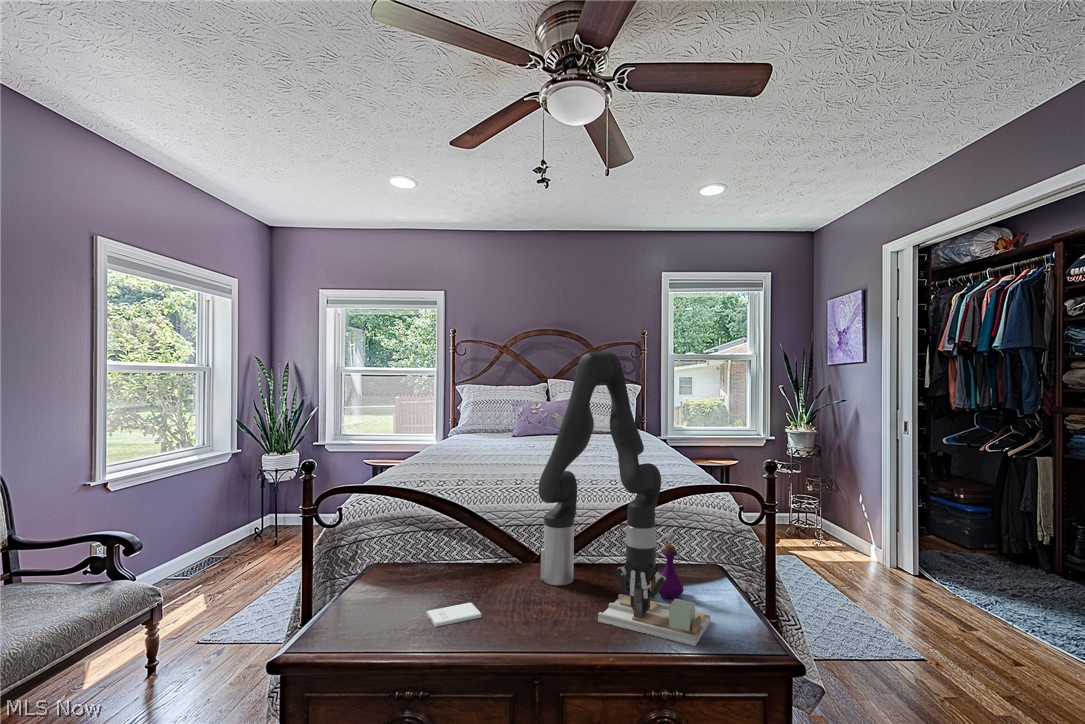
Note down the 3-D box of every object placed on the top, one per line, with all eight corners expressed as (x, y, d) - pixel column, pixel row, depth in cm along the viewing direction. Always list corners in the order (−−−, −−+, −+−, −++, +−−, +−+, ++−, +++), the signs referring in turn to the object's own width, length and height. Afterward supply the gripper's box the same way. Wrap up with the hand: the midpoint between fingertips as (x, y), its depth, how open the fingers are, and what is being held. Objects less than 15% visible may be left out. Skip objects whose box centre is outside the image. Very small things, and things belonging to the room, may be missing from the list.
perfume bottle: (683, 602, 158) (684, 538, 158) (656, 600, 160) (656, 536, 160) (682, 592, 166) (682, 530, 166) (656, 590, 167) (656, 528, 167)
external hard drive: (481, 619, 148) (435, 629, 142) (470, 607, 155) (426, 616, 149) (481, 613, 148) (435, 622, 142) (470, 601, 155) (426, 609, 149)
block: (669, 626, 138) (669, 605, 138) (675, 618, 143) (675, 598, 143) (689, 631, 136) (689, 610, 136) (694, 622, 140) (695, 602, 140)
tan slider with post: (632, 622, 143) (632, 589, 143) (639, 614, 147) (639, 582, 147) (695, 637, 135) (696, 603, 135) (700, 629, 139) (701, 595, 139)
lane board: (598, 621, 146) (598, 611, 146) (619, 600, 159) (620, 591, 159) (695, 646, 134) (695, 635, 134) (710, 621, 147) (710, 611, 147)
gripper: (610, 542, 145) (609, 610, 145) (662, 551, 138) (662, 622, 138) (621, 534, 151) (620, 599, 151) (671, 543, 144) (671, 611, 144)
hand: (640, 610), depth 145 cm, fingers closed on tan slider with post, 2 cm apart
